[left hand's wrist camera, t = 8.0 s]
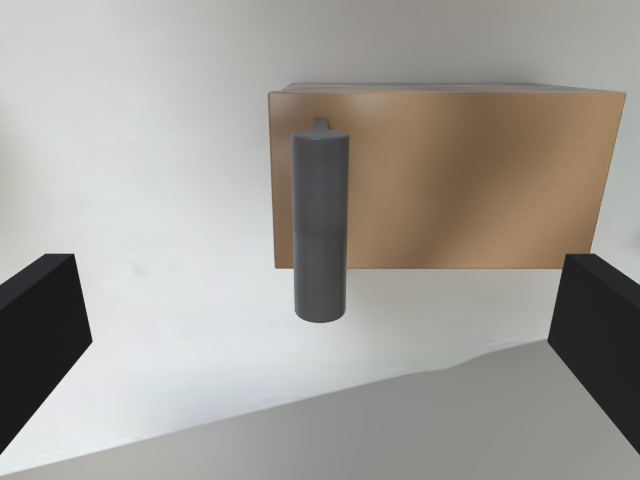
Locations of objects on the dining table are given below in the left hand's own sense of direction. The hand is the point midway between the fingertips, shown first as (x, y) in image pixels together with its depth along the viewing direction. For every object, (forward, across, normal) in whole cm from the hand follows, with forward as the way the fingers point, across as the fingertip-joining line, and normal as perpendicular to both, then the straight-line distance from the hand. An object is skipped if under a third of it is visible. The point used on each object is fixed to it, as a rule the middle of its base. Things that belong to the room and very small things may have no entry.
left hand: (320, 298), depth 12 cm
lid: (+13, +6, 0) cm, 15 cm away
